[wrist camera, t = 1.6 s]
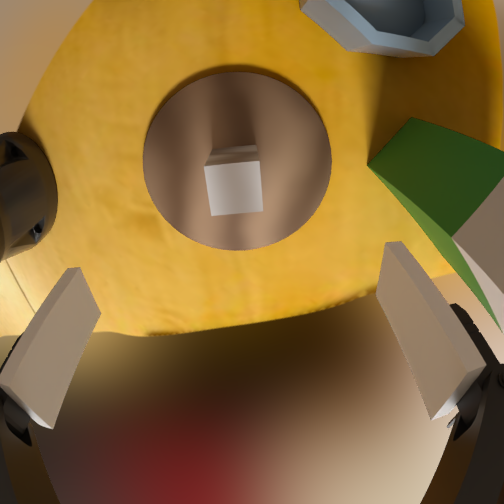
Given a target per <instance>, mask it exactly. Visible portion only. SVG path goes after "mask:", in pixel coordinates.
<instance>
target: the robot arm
mask: <svg viewBox="0 0 504 504" xmlns="http://www.w3.org/2000/svg"><path fill="white" fill-rule="evenodd" d="M56 213H57V189H56V183H55V179H54V175H53V172H52V170H51V167H50V165H49V163H48V160H47V159H46V157H45V155H44V154H43V152H42V151H41V149H40V148H39V147H38V146H37V144H36V143H35V142H33V141H32V140H31V139H30V138H28V137H27V136H25V135H23V134H21V133H17V132H6V133H3V134H0V262H1V261H3V260H5V259H7V258H10V257H12V256H14V255H17V254H19V253H22V252H24V251H27V250H29V249H31V248H33V247H34V246H36V245H37V244H38V243H39V242H40V241H41V240H42V239H43V238H44V237H45V236H46V235H47V234H48V233H49V231H50V230H51V228H52V226H53V224H54V221H55V218H56ZM376 296H377V298H378V300H379V302H380V304H381V306H382V308H383V311H384V312H385V315H386V317H387V319H388V321H389V323H390V325H391V327H392V329H393V331H394V333H395V335H396V338H397V340H398V342H399V344H400V346H401V349H402V351H403V353H404V355H405V357H406V360H407V362H408V364H409V366H410V369H411V371H412V374H413V376H414V378H415V381H416V383H417V386H418V388H419V391H420V393H421V396H422V398H423V400H424V403H425V406H426V408H427V411H428V414H429V417H430V419H431V420H433V419H436V418H439V417H441V416H444V415H447V414H449V413H450V412H451V411H452V409H453V408H454V407H455V406H456V405H457V407H458V409H459V412H458V413H457V414H456V416H455V417H454V418H453V419H452V420H451V421H450V422H449V424H448V425H447V428H449V427H450V426H451V425H452V424H453V423H454V424H453V428H452V431H451V434H450V436H449V439H448V442H447V445H446V447H445V450H444V453H443V455H442V458H441V460H440V463H439V465H438V467H437V470H436V472H435V474H434V476H433V479H432V481H431V483H430V485H429V487H428V489H427V492H426V494H425V496H424V497H423V499H422V501H421V503H420V504H504V364H500V363H499V361H498V360H497V358H496V357H495V355H494V353H493V352H492V350H491V348H490V347H489V345H488V343H487V342H486V340H485V339H484V337H483V336H482V334H481V333H480V332H479V329H478V328H477V326H476V325H475V324H473V320H472V319H471V318H470V316H469V315H468V313H467V312H466V311H465V310H464V309H463V308H461V307H460V306H459V305H457V304H456V303H455V304H450V305H449V304H448V303H447V301H446V300H445V298H444V297H443V296H442V294H441V293H440V291H439V290H438V289H437V287H436V286H435V285H434V283H433V282H432V280H431V279H430V278H429V276H428V275H427V274H426V272H425V271H424V270H423V268H422V267H421V266H420V264H419V263H418V262H417V260H416V259H415V258H414V257H413V255H412V254H411V253H410V252H409V250H408V249H407V248H406V247H405V245H404V244H403V243H402V242H401V241H399V242H387V243H385V248H384V254H383V260H382V265H381V271H380V276H379V281H378V286H377V290H376ZM100 315H101V312H100V310H99V308H98V306H97V304H96V302H95V300H94V298H93V295H92V293H91V291H90V289H89V287H88V284H87V282H86V280H85V278H84V275H83V273H82V271H81V268H80V267H78V268H67V270H66V271H65V272H64V274H63V275H62V277H61V278H60V279H59V281H58V282H57V283H56V285H55V286H54V288H53V289H52V290H51V292H50V293H49V295H48V296H47V298H46V299H45V301H44V302H43V303H42V305H41V306H40V308H39V309H38V311H37V312H36V314H35V316H34V317H33V319H32V320H31V322H30V323H29V325H28V327H27V328H26V330H25V331H24V332H23V333H22V334H21V335H20V336H19V338H18V339H17V340H16V342H15V344H14V345H13V347H12V350H10V352H9V354H8V357H7V358H6V359H5V361H4V363H3V365H2V366H1V368H0V504H60V502H59V499H58V497H57V495H56V493H55V490H54V488H53V485H52V483H51V480H50V478H49V475H48V472H47V470H46V467H45V464H44V461H43V458H42V455H41V452H40V449H39V446H38V443H37V439H36V436H35V432H34V429H33V426H32V424H31V423H29V420H30V417H31V418H32V419H33V420H34V421H36V422H37V423H38V424H39V425H42V426H44V427H47V428H51V429H53V427H54V425H55V421H56V419H57V416H58V413H59V410H60V407H61V405H62V402H63V400H64V397H65V394H66V392H67V389H68V387H69V384H70V382H71V379H72V377H73V374H74V372H75V370H76V367H77V365H78V362H79V360H80V358H81V356H82V353H83V350H84V349H85V347H86V344H87V342H88V340H89V338H90V336H91V333H92V331H93V329H94V327H95V325H96V323H97V321H98V319H99V317H100Z"/></svg>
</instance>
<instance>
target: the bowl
mask: <svg viewBox="0 0 504 504" xmlns="http://www.w3.org/2000/svg"><path fill="white" fill-rule="evenodd" d="M299 3H300V10H301V11H302V12H303V13H305V14H306V15H307V16H308V17H310V18H311V19H312V20H313V21H314V22H316V23H317V24H318V25H319V26H320V27H321V28H323V29H324V30H325V31H326V32H327V33H328V34H329V35H331V36H332V37H333V38H334V39H335V40H336V41H337V42H338V43H339V44H340V45H341V46H342V47H344V48H345V49H346V50H347V51H353V52H363V53H371V54H379V55H386V56H392V57H398V58H407V57H424V56H435V55H436V54H437V53H438V52H439V51H440V50H441V49H442V48H443V47H444V46H445V45H446V44H447V43H448V42H449V41H450V40H451V39H452V38H453V37H454V36H455V35H456V34H457V33H458V32H459V31H460V30H461V29H462V28H463V27H464V26H465V21H464V14H463V8H462V2H461V0H299Z"/></svg>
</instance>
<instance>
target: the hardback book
mask: <svg viewBox="0 0 504 504" xmlns="http://www.w3.org/2000/svg"><path fill="white" fill-rule="evenodd" d="M367 166H368V167H369V168H370V169H371V170H372V171H373V172H374V173H375V175H376V176H377V177H378V178H379V179H380V180H381V181H382V182H383V183H384V184H385V185H386V187H387V188H388V189H389V190H390V191H391V192H392V193H393V194H394V196H395V197H396V198H397V199H398V200H399V201H400V203H401V204H402V205H403V206H404V207H405V208H406V210H407V211H408V212H409V213H410V214H411V216H412V217H413V218H414V219H415V221H416V222H417V223H418V224H419V226H420V227H421V228H422V229H423V231H424V232H425V233H426V235H427V236H428V237H429V238H430V240H431V241H432V242H433V244H434V245H435V246H436V248H437V249H438V251H439V252H440V253H441V255H442V256H443V257H444V258H445V259H446V261H447V262H448V263H449V264H450V265H451V266H452V267H453V269H454V270H455V271H456V272H457V273H458V275H459V276H460V277H461V278H462V279H463V281H464V282H465V283H466V284H467V286H468V287H469V288H470V289H471V291H472V292H473V293H474V294H475V296H476V297H477V298H478V300H479V301H480V302H481V303H482V305H483V306H484V308H485V309H486V310H487V312H488V313H489V314H490V315H491V317H492V318H493V319H494V321H495V323H496V324H497V325H498V327H499V328H500V330H501V331H502V333H503V334H504V152H503V151H501V150H499V149H497V148H494V147H492V146H490V145H488V144H485V143H483V142H481V141H478V140H476V139H473V138H471V137H468V136H466V135H463V134H460V133H458V132H455V131H452V130H450V129H447V128H444V127H441V126H438V125H435V124H432V123H429V122H426V121H423V120H419V119H416V118H413V117H411V118H410V119H409V120H408V122H407V123H406V124H405V125H404V126H403V127H402V128H401V129H400V130H399V131H398V132H397V134H396V135H395V136H394V137H393V138H392V139H391V140H390V141H389V142H388V143H387V144H386V145H385V146H384V148H383V149H382V150H381V151H380V152H379V153H378V154H377V155H376V156H375V157H374V158H373V159H372V160H371V162H370V163H369V164H368V165H367Z"/></svg>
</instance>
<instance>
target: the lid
mask: <svg viewBox="0 0 504 504" xmlns="http://www.w3.org/2000/svg"><path fill="white" fill-rule="evenodd" d="M331 165H332V158H331V148H330V143H329V138H328V135H327V133H326V130H325V127H324V125H323V123H322V121H321V119H320V117H319V116H318V114H317V113H316V111H315V110H314V109H313V107H312V106H311V105H310V104H309V103H308V102H307V101H306V100H305V99H304V98H303V97H302V96H301V95H300V94H299V93H297V92H296V91H295V90H294V89H292V88H291V87H289V86H287V85H285V84H284V83H282V82H280V81H278V80H275V79H273V78H270V77H268V76H264V75H260V74H255V73H248V72H226V73H220V74H215V75H211V76H208V77H205V78H202V79H199V80H197V81H195V82H193V83H191V84H189V85H187V86H186V87H184V88H183V89H181V90H180V91H178V92H177V93H176V94H175V95H174V96H173V97H172V98H170V99H169V100H168V101H167V102H166V104H165V105H164V106H163V107H162V108H161V110H160V111H159V112H158V114H157V116H156V117H155V119H154V120H153V122H152V124H151V127H150V129H149V131H148V134H147V138H146V141H145V145H144V152H143V171H144V178H145V182H146V186H147V189H148V192H149V194H150V196H151V199H152V201H153V203H154V204H155V206H156V208H157V209H158V211H159V212H160V213H161V215H162V216H163V217H164V218H165V220H167V221H168V222H169V223H170V224H171V225H172V226H173V227H174V228H175V229H176V230H178V231H179V232H180V233H182V234H183V235H185V236H186V237H188V238H190V239H191V240H194V241H196V242H198V243H200V244H203V245H206V246H209V247H213V248H218V249H223V250H234V251H235V250H251V249H257V248H261V247H265V246H268V245H271V244H274V243H276V242H279V241H280V240H282V239H284V238H286V237H288V236H290V235H291V234H292V233H294V232H295V231H297V230H298V229H299V228H300V227H301V226H303V225H304V224H305V223H306V222H307V221H308V220H309V219H310V217H311V216H312V215H313V214H314V212H315V211H316V210H317V208H318V207H319V205H320V203H321V201H322V199H323V197H324V195H325V193H326V190H327V187H328V184H329V180H330V175H331Z"/></svg>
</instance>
